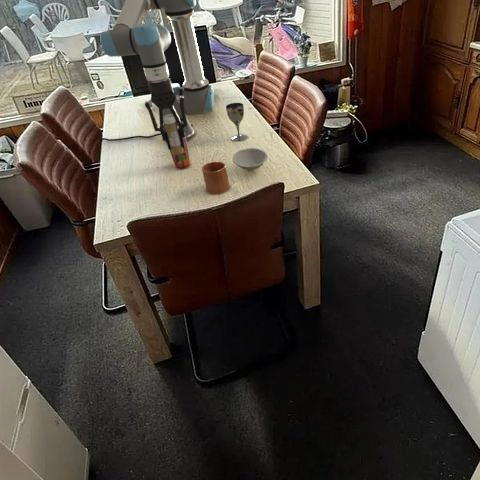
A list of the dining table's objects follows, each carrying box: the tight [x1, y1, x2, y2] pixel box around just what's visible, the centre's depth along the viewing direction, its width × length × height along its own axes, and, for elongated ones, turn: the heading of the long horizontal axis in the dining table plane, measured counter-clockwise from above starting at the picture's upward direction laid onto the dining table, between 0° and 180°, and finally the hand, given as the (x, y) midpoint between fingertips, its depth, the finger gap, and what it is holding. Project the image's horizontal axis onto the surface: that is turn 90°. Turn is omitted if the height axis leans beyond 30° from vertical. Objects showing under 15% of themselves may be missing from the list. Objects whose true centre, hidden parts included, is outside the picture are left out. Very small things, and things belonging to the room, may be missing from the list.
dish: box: [231, 147, 268, 171], centre depth 158 cm, size 18×14×5 cm
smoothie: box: [166, 126, 191, 170], centre depth 160 cm, size 8×8×20 cm
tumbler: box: [201, 161, 230, 195], centre depth 146 cm, size 9×9×9 cm
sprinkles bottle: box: [163, 114, 184, 155], centre depth 140 cm, size 5×5×13 cm
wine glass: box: [225, 102, 247, 142], centre depth 180 cm, size 8×8×15 cm
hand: (176, 147), depth 143 cm, fingers closed on sprinkles bottle, 4 cm apart
